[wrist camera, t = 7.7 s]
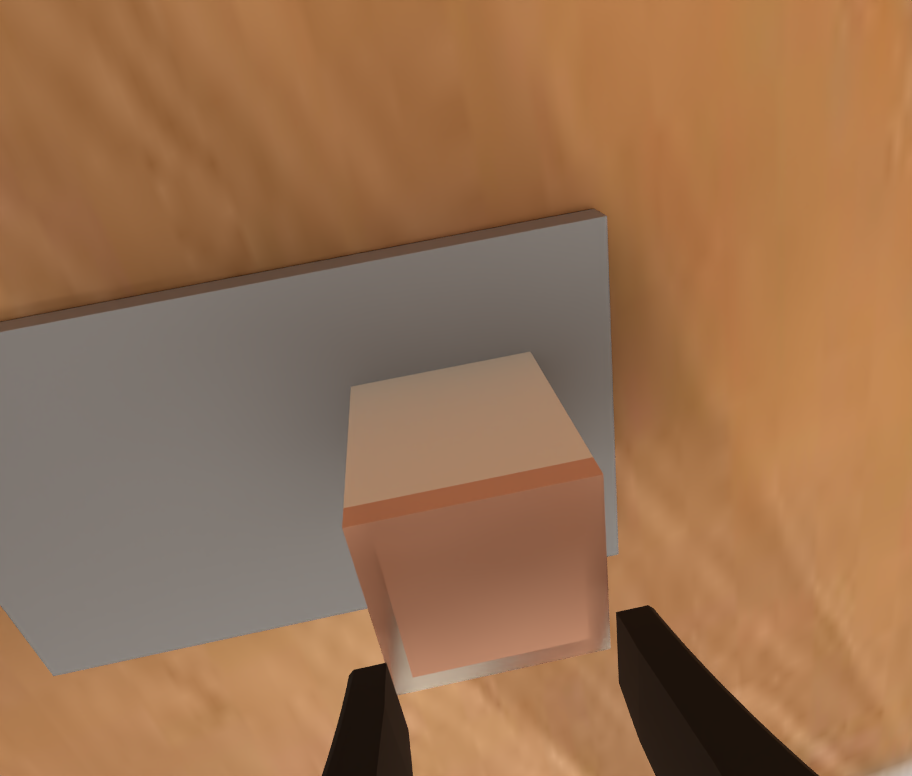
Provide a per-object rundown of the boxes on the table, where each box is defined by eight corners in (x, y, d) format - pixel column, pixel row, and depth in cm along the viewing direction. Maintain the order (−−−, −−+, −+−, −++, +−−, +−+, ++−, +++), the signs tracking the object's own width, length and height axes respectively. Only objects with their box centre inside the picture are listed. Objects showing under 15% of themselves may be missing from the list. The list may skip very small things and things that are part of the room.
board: (66, 651, 21) (53, 676, 20) (-148, 350, 15) (-180, 366, 15) (608, 535, 22) (618, 554, 21) (593, 208, 16) (606, 215, 15)
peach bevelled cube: (388, 526, 19) (395, 695, 14) (350, 386, 17) (342, 527, 11) (545, 493, 19) (610, 648, 14) (530, 351, 17) (603, 474, 12)
